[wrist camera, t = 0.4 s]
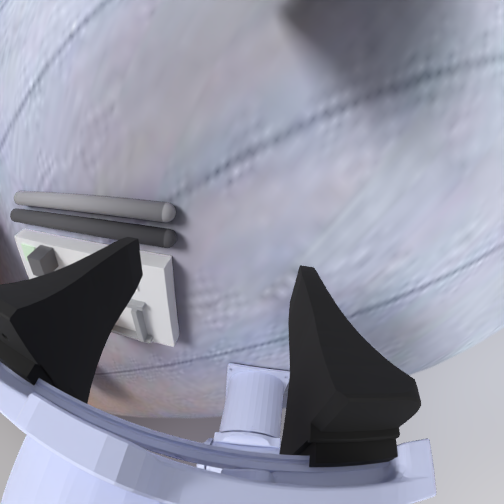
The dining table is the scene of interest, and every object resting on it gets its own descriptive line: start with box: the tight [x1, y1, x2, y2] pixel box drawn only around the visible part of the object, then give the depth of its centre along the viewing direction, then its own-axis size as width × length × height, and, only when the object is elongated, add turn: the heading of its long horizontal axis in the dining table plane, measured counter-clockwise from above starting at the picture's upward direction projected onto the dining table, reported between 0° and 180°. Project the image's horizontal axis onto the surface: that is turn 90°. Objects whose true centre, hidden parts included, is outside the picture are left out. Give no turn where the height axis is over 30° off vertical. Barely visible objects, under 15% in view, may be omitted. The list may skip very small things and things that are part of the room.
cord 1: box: [14, 191, 176, 222], centre depth 21 cm, size 2×22×2 cm, turn 84°
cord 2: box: [10, 209, 177, 248], centre depth 23 cm, size 2×24×2 cm, turn 84°
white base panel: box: [14, 228, 179, 347], centre depth 25 cm, size 11×22×4 cm, turn 84°
